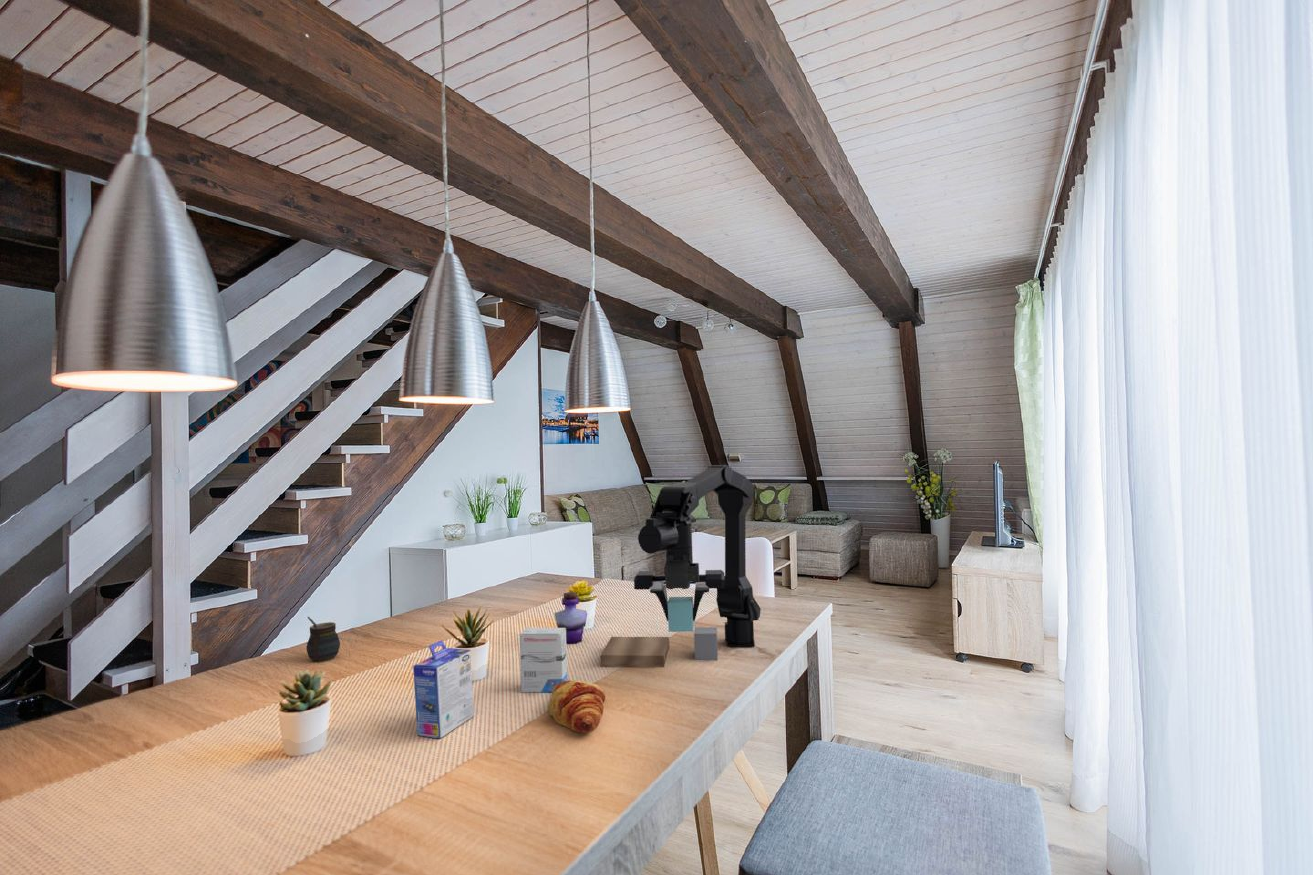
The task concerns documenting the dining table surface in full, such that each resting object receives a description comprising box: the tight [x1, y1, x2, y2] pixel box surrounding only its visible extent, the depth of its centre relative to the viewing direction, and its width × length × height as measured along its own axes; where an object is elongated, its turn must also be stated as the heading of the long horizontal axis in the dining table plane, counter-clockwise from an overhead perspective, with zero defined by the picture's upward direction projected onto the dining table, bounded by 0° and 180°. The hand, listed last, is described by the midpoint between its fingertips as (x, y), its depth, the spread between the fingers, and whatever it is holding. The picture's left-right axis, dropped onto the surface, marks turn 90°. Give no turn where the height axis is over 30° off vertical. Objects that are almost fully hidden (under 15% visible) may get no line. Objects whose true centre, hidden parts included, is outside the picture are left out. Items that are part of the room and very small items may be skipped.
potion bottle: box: [553, 591, 588, 645], centre depth 165 cm, size 9×9×12 cm
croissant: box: [547, 679, 606, 734], centre depth 119 cm, size 21×10×8 cm, turn 20°
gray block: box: [693, 626, 719, 661], centre depth 150 cm, size 5×5×6 cm
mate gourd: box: [306, 616, 341, 663], centre depth 157 cm, size 7×8×10 cm
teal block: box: [667, 596, 695, 633], centre depth 138 cm, size 5×5×6 cm
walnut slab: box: [599, 636, 670, 668], centre depth 151 cm, size 14×14×3 cm
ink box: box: [518, 627, 568, 694], centre depth 133 cm, size 8×5×12 cm, turn 84°
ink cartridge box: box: [412, 640, 475, 739], centre depth 116 cm, size 10×6×14 cm, turn 161°
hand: (681, 620), depth 138 cm, fingers closed on teal block, 5 cm apart
